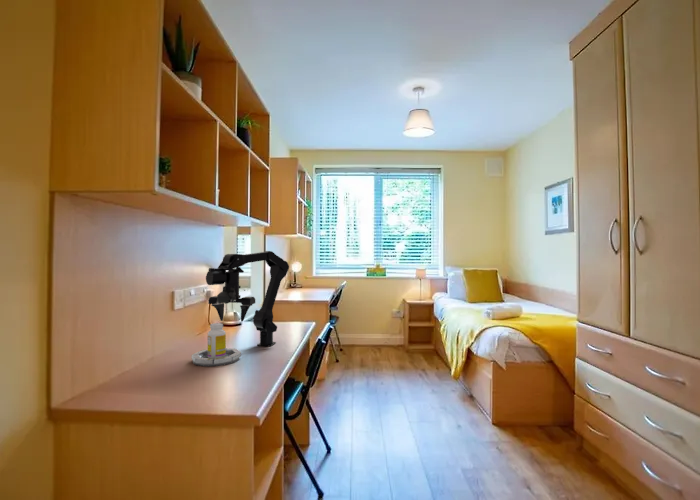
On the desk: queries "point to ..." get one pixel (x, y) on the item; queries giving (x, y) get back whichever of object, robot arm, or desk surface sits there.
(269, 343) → the robot arm
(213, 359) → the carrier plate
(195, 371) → the desk surface
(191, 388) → the desk surface
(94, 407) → the desk surface
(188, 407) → the desk surface
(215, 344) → the supplement bottle
